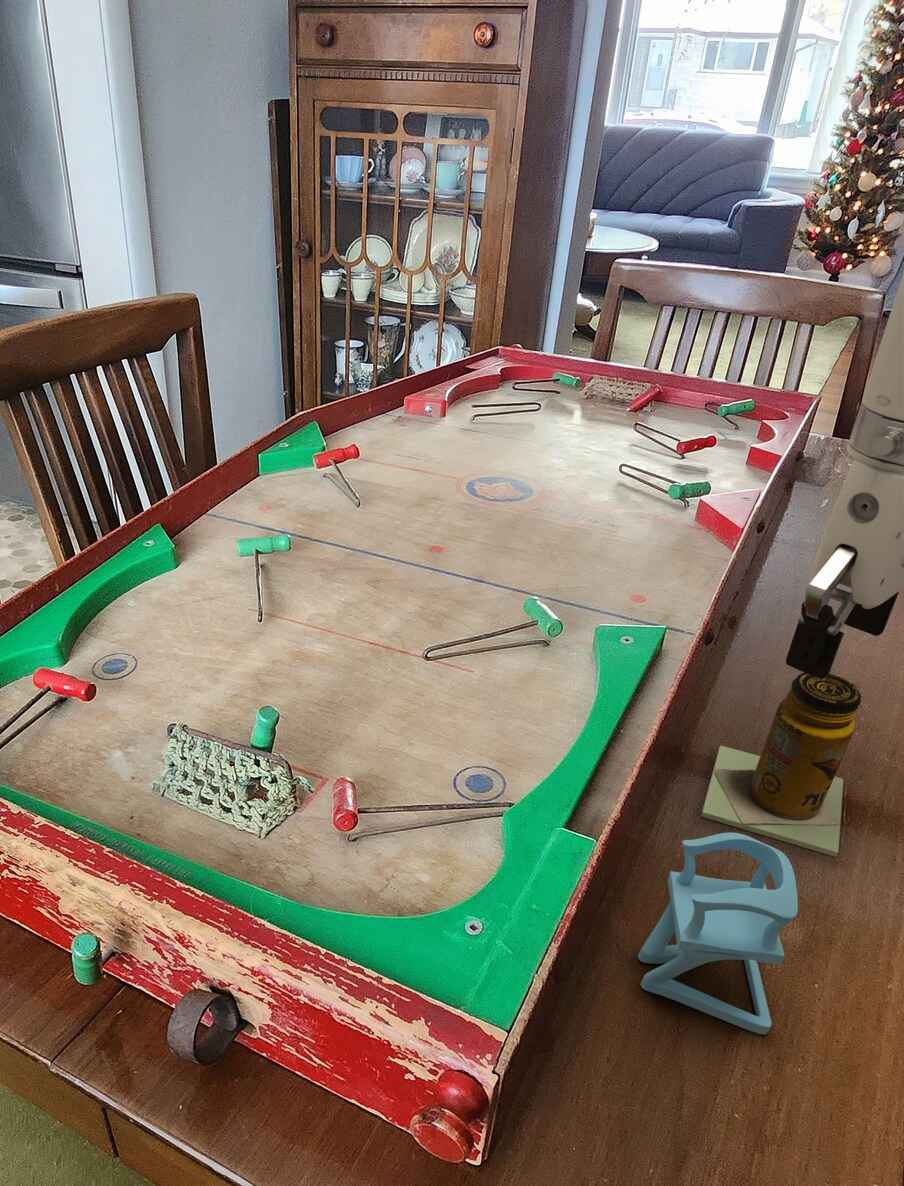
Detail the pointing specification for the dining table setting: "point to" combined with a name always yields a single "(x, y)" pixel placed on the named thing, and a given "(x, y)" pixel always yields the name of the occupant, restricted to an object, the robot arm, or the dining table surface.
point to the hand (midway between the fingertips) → (834, 649)
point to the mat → (800, 835)
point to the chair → (722, 927)
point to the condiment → (797, 755)
